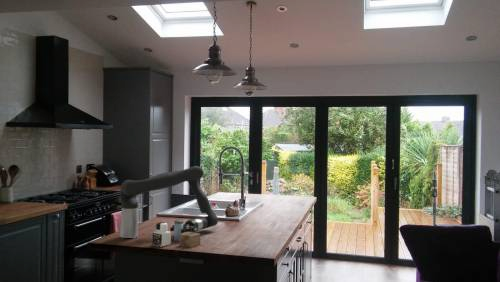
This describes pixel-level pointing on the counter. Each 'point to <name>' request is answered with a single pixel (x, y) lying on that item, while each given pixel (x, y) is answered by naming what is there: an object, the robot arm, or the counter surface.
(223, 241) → the counter surface
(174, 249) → the counter surface
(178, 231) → the spice jar
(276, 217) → the counter surface
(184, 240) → the walnut block
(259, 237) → the counter surface
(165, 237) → the medicine bottle
